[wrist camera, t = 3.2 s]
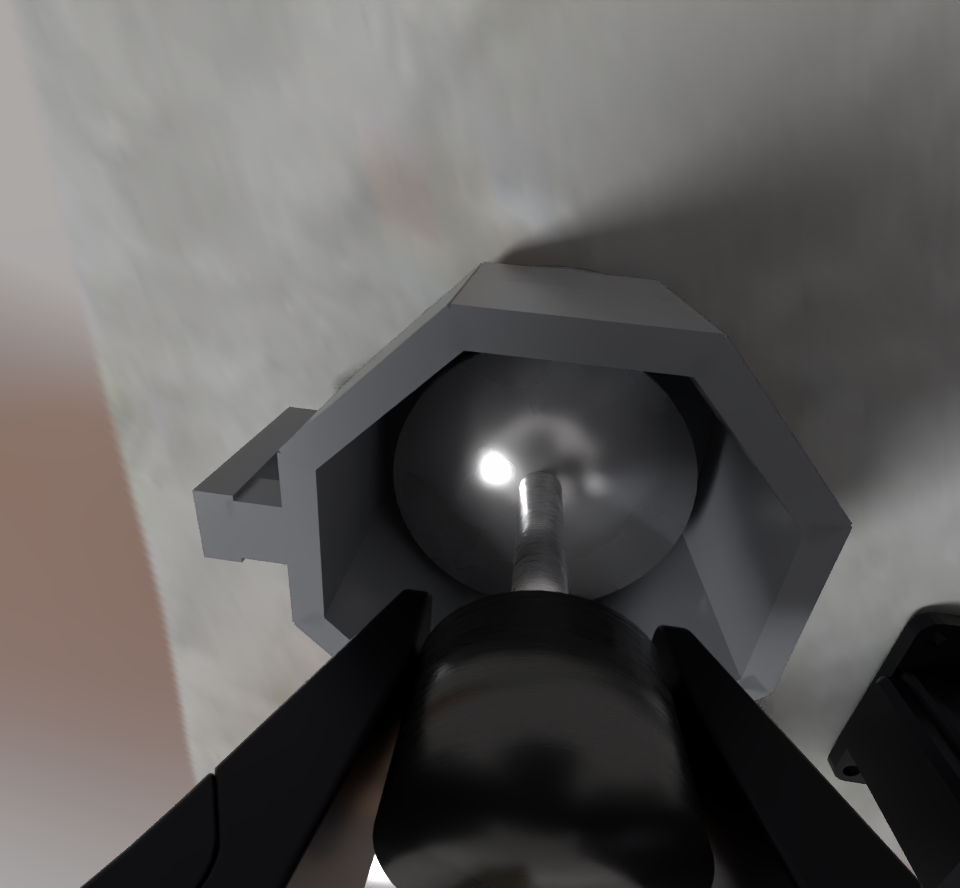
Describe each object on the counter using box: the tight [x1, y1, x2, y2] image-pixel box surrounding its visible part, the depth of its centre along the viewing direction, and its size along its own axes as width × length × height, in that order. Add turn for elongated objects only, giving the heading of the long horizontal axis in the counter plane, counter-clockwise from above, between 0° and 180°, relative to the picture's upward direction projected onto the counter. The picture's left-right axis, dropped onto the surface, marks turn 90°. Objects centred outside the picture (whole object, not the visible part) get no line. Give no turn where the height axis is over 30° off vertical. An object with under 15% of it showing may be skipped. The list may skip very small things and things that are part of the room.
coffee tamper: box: [372, 352, 715, 888], centre depth 8 cm, size 6×6×8 cm
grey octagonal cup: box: [192, 262, 852, 701], centre depth 11 cm, size 10×9×5 cm
